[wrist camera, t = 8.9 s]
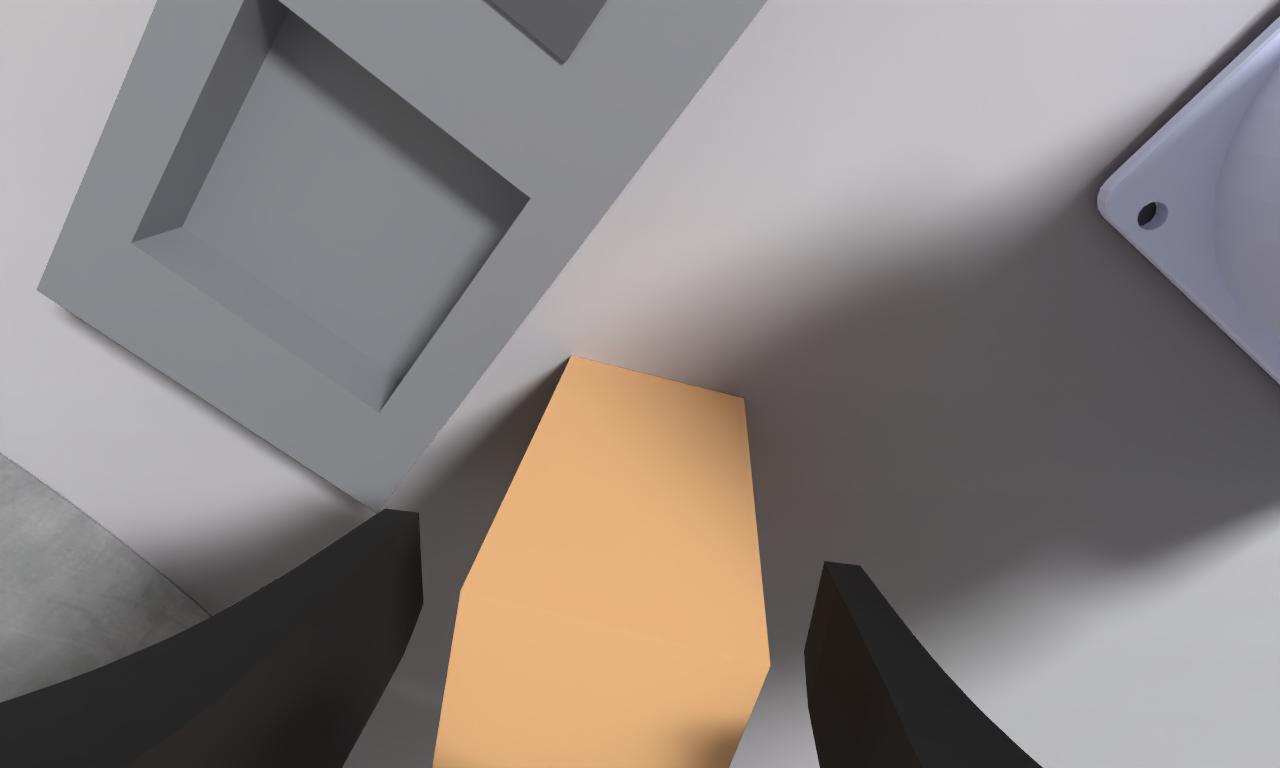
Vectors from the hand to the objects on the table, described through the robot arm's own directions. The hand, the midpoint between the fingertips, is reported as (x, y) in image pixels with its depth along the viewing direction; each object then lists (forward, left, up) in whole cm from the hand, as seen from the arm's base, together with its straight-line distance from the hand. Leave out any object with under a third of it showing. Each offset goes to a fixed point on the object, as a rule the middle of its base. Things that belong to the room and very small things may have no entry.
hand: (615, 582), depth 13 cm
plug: (0, 0, -5) cm, 5 cm away
